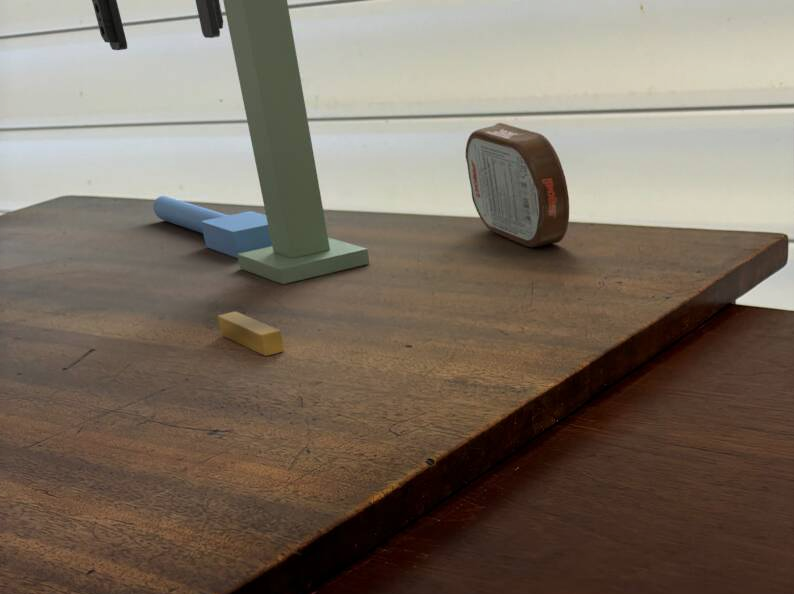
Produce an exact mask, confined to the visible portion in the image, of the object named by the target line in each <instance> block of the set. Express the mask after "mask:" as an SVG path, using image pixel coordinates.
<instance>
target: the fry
mask: <svg viewBox="0 0 794 594" xmlns="http://www.w3.org/2000/svg"><path fill="white" fill-rule="evenodd" d="M217 320H218V324H219V327H220V333H221V335H222V337H224V338H226V339H228V340H231V341H232V342H235V343H237V344H239V345H240V346H243V347H245V348H247V349H250V350H251V351H253V352H256V353H258V354H260V355H262V356H265V357H268V356H271V355H272V356H273V355H277V354H279V353H283V352H284V351H285V349H284V344H283V339H282V338H283V337H282V334H281V330H280V329H278V328H275V327H274V326H271V325H268V324H266V323H264V322H261V321H260V320H257V319H254V318H252V317H250V316H247V315H245V314H243V313H242V312H239V311H236V310H235V311H230V312H227V313H222V314H219V315H217Z"/></svg>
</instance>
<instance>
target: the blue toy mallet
mask: <svg viewBox="0 0 794 594" xmlns="http://www.w3.org/2000/svg"><path fill="white" fill-rule="evenodd" d="M153 202H154V203H153V213H154V214H155V216H156V217H157V218H158V219H159V220H162V221H164V222H167V223H171V224H173V225H177V226H180V227H182V228H186V229H188V230H191V231H195V232H197V233H200V234H203V238H204V242H205V247H206V248H208V249H210V250H214V251H216V252H219V253H222V254H225V255H227V256H230V257H232V258H236V259H238V256H237V254H239V253H244V252H248V251H253V250H257V249H262V248H266V247H271V246H272V242H271V237H270V232H269V227H268V222H267V217H266V214H263V213H260V212H256V211H254V210H253V211H252V210H248V211H244V212H239V213H235V214H226V213H222V212H218V211H215V210H212V209H209V208H206V207H203V206H202V207H201V206H199V205H196V204H193V203H192V204H191V203H190V202H185V201H183V200H180V199H176V198H173V197H169V196H165V195H161V196H158V197H157V198H156V199H155V200H154V201H153Z"/></svg>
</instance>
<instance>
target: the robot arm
mask: <svg viewBox="0 0 794 594" xmlns="http://www.w3.org/2000/svg"><path fill="white" fill-rule="evenodd" d="M194 1H195V5H196V9H197V15H198V19H199V23H200V24H199V25H200V29H201V33H202V36H203V37H204V38H207V39H213V38H220V36H221V31H220V30H222V29H223V28H224V18H223V14H222V13H223V12H222V9H221V2H220V0H194ZM91 2H92V5H93V10H94V14H95V18H96V21H97V26H98V30H99V33H100V36H101V38H102V40H103V41H104V43H109V47H110V49H111V50H113V51H123V50H124V51H125V50H127V49H128V42H127V37H126V33H125V29H124V24H123V21H122V16H121V12H120V9H119V8H120V7H119V5H118V1H117V0H91Z"/></svg>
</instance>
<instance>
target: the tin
mask: <svg viewBox="0 0 794 594" xmlns="http://www.w3.org/2000/svg"><path fill="white" fill-rule="evenodd" d="M465 160H466V165H467V172H468V173H467V174H468V180H469V185H470V191H471V198H472V199H471V200H472V202H473V205H474V208H475V210H476V212H477V214H478V217H479V218H480V220H481V221H482V223H483V224H484V226H485V227H486V228H487V229H488V230H489V231H491V232H493V233H495V234H496V235H499V236H502V237H505V238H507V239H509V240H511V241H514V242H516V243H518V244H520V245H523V246H525V247H527V248H538V247H542V246H546V245H550V244H558V243H560V242H561V241H562V240H563V239H564V238H565V236H566V233H567V231H568V227H569V220H570V198H569V191H568V184H567V179H566V176H565V172H564V169H563V165H562V163H561V161H560V157H559V156H558V153H557V151H556V150H555V147H554V146H553V145H552V143H551V142H550V140H549V139H548V138H547V137H546V136H545V135H544V134H541V133H539V132H536V131H531V130H528V129H525V128H521V127H518V126H514V125H510V124H507V123H504V122H498V123H496V124H494V125H491V126H487V127H482V128H479V129H476V130H474V131H472V132H471V134H469V136H468V139H467V141H466V146H465Z"/></svg>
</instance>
